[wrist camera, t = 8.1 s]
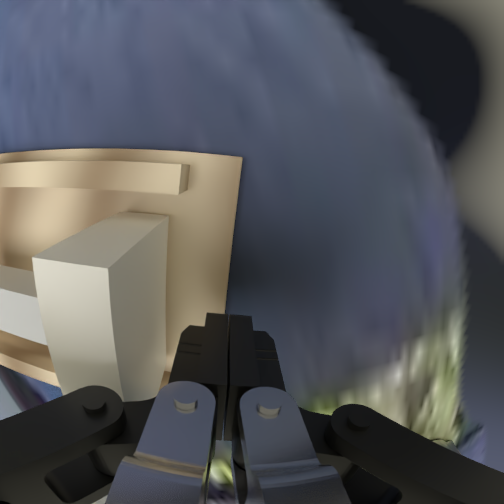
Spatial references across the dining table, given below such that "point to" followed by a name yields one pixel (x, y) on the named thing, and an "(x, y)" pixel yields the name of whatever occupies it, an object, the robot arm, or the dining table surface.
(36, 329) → the plunger
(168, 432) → the robot arm
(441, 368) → the dining table surface
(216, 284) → the frame
